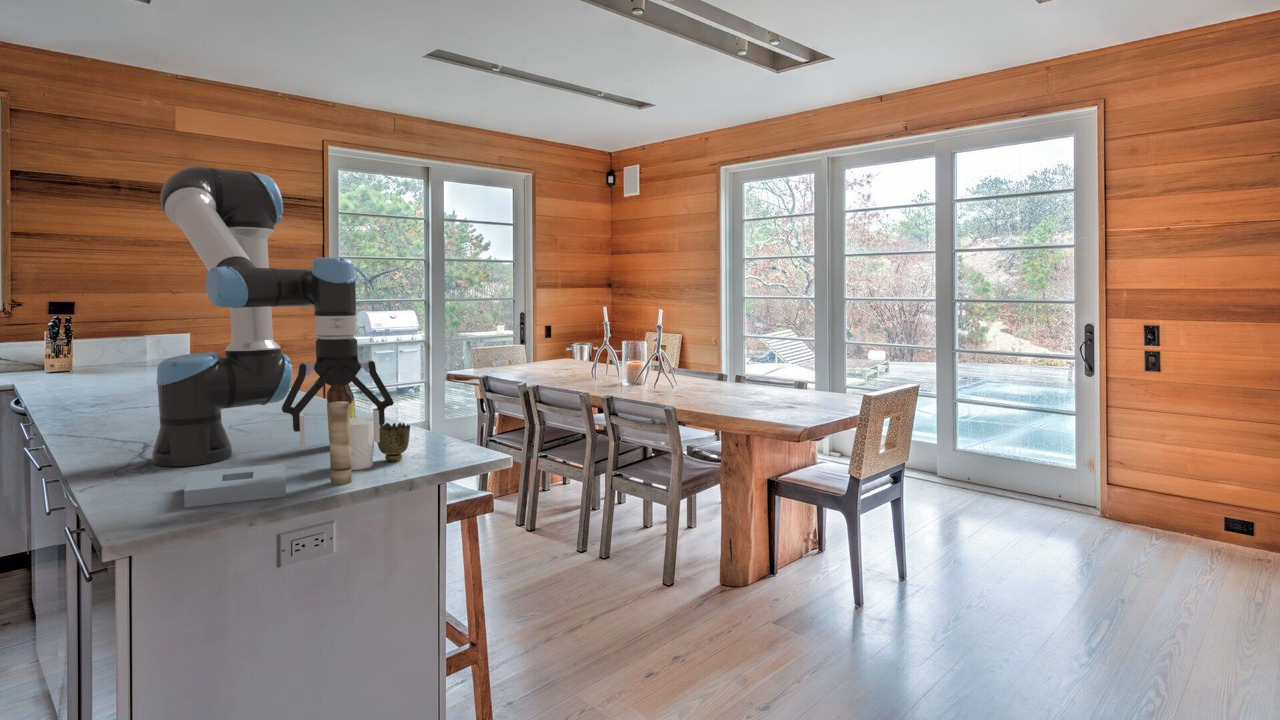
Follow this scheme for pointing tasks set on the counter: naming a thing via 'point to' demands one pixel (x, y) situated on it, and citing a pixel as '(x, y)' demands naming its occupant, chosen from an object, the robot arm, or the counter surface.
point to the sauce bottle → (341, 398)
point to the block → (235, 485)
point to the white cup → (361, 443)
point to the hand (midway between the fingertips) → (340, 444)
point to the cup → (393, 440)
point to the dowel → (340, 443)
